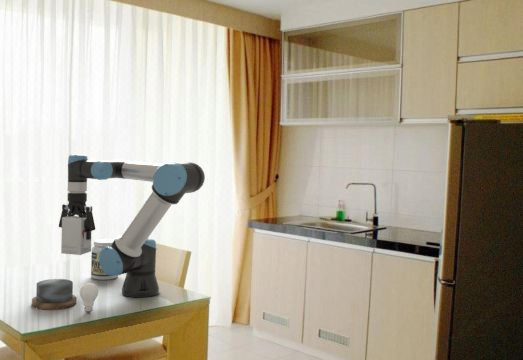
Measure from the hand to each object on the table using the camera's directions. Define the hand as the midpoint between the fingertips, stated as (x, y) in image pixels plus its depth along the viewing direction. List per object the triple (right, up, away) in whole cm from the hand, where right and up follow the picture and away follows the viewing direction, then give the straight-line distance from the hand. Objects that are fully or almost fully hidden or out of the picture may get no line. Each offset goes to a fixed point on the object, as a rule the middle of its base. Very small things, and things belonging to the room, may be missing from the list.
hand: (76, 246), depth 236 cm
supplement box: (0, -3, 0) cm, 3 cm away
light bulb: (+13, -21, -26) cm, 36 cm away
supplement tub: (+4, -18, +26) cm, 32 cm away
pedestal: (-3, -20, -17) cm, 27 cm away
